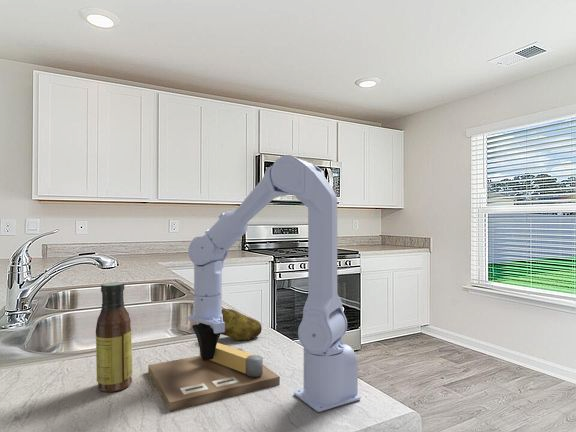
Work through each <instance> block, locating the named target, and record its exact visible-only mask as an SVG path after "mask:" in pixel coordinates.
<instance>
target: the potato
mask: <svg viewBox="0 0 576 432" xmlns="http://www.w3.org/2000/svg"><path fill="white" fill-rule="evenodd" d="M222 315H223V322H225V332H222V333H221V335H222V336H225V337H228V338H230V339H231V340H235V341H236V340H237V341H246V340H251V339H255V338H256V337H259V335H260V334H261V333H262V324H261V322H260V321H259V320H257V319H255V318H253V317H250V316H247V315H245V314H242V313H240V312H239V311H238V310H235V309H232V308H222Z"/></svg>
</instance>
